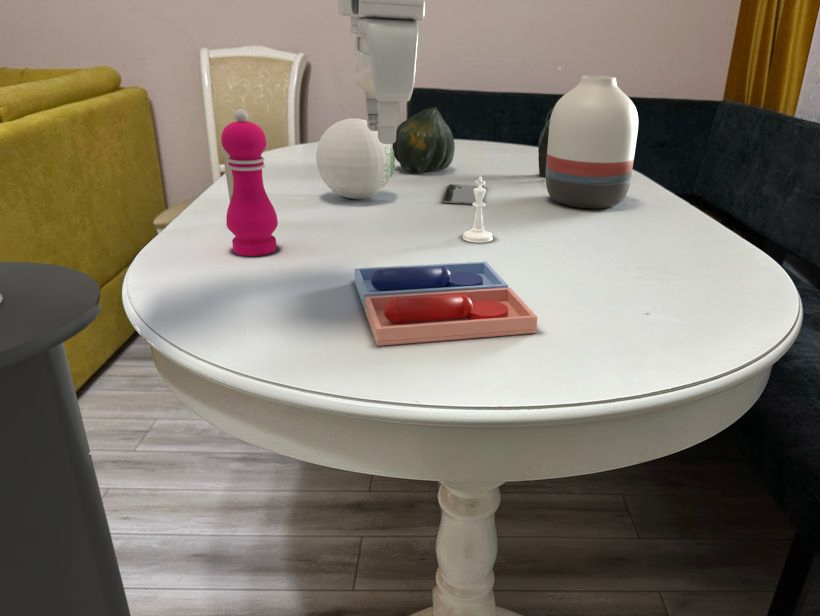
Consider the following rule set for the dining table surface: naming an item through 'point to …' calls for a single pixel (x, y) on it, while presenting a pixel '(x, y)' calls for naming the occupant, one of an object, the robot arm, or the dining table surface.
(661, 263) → the dining table surface
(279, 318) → the dining table surface
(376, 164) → the decorative object
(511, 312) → the red tray
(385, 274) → the blue spoon
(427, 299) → the red spoon
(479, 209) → the chess piece
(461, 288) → the blue tray
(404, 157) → the squash
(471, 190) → the smartphone
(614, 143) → the vase
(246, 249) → the pepper mill
